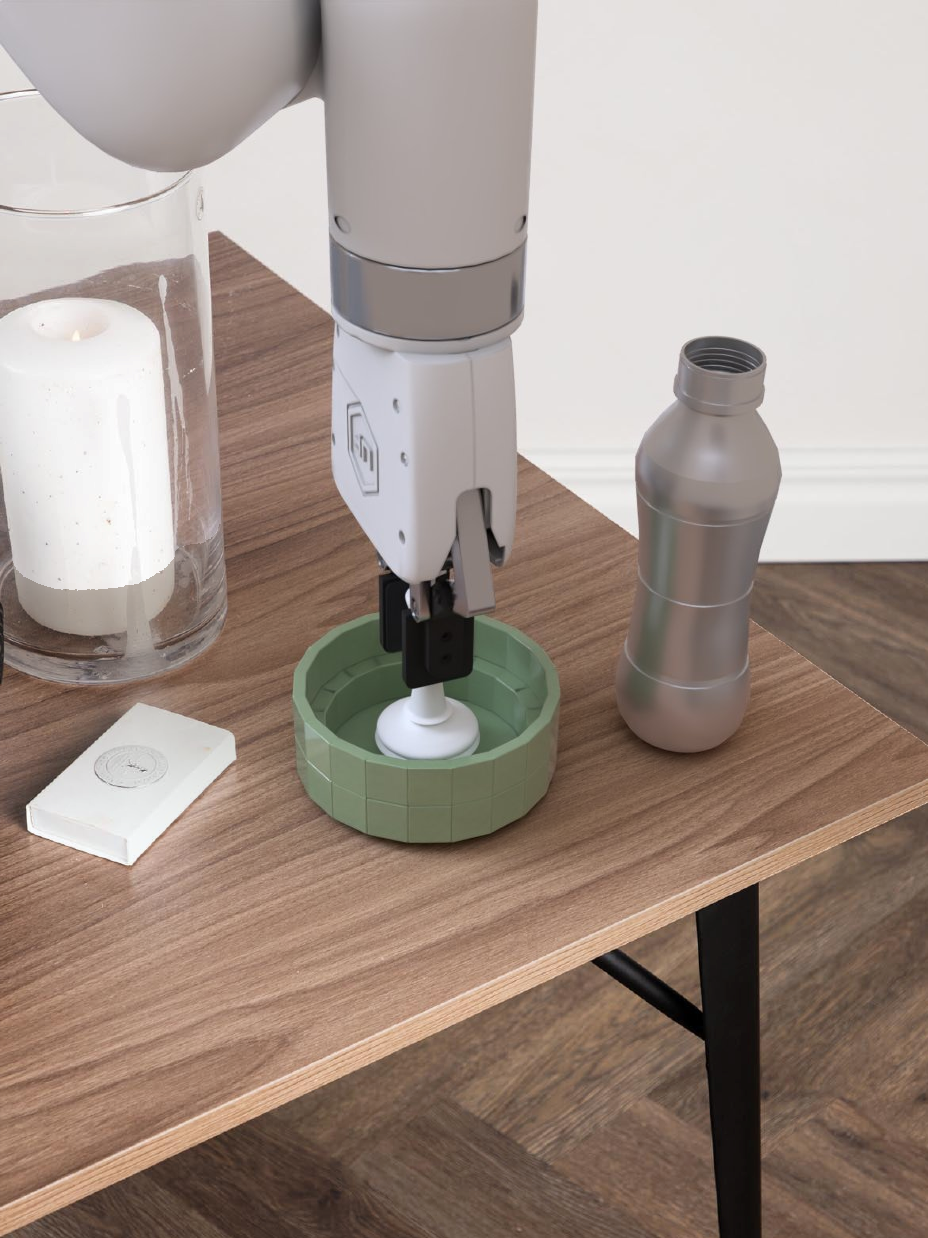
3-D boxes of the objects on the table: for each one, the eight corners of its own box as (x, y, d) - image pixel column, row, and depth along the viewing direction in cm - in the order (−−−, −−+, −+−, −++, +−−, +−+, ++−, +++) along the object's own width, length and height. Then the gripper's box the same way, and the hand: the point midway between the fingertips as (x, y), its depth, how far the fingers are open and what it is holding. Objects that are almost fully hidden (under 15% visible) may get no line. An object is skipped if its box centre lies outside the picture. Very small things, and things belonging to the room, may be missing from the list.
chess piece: (353, 732, 80) (348, 551, 74) (434, 692, 83) (435, 514, 77) (420, 784, 78) (420, 601, 71) (501, 741, 80) (508, 561, 74)
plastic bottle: (689, 788, 81) (742, 409, 68) (582, 725, 85) (613, 351, 71) (770, 729, 85) (834, 358, 72) (664, 670, 88) (707, 306, 75)
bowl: (260, 823, 78) (253, 738, 75) (345, 670, 87) (343, 588, 84) (518, 876, 76) (523, 791, 73) (578, 714, 85) (585, 632, 82)
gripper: (271, 208, 70) (292, 585, 82) (411, 383, 59) (411, 788, 71) (441, 187, 72) (437, 555, 84) (606, 351, 61) (574, 747, 73)
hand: (425, 659), depth 78 cm, fingers closed on chess piece
